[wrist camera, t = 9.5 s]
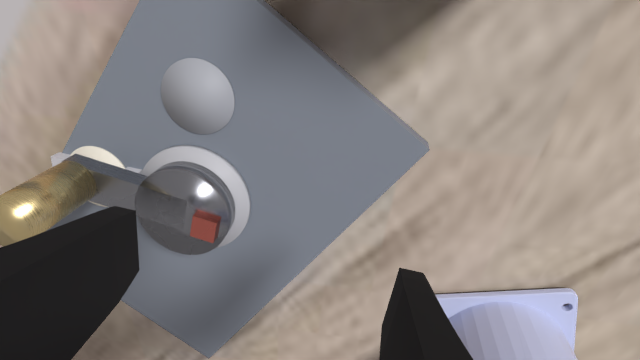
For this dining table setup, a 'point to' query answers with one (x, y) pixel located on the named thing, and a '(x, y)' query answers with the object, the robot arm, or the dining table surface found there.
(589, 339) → the dining table surface
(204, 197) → the brass crank handle
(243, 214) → the plate
